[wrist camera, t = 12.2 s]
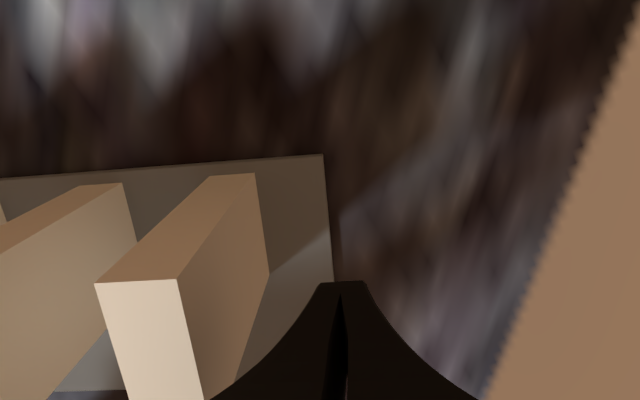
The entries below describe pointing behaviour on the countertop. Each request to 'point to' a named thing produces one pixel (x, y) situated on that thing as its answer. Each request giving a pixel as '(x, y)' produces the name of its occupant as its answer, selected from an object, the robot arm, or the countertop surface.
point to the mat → (166, 194)
